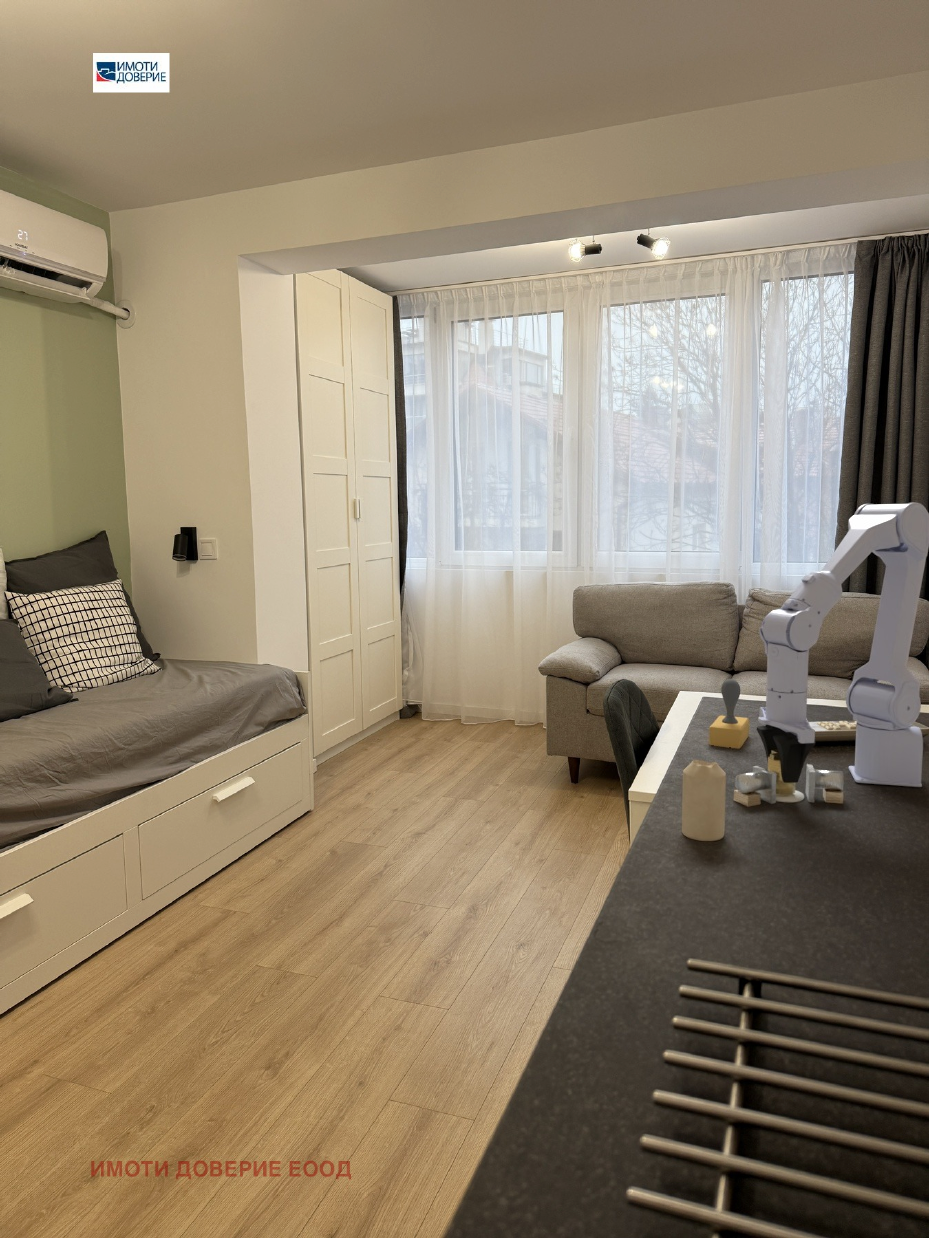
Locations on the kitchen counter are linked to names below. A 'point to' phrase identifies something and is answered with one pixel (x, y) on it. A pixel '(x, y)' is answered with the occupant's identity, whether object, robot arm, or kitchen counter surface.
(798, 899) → the kitchen counter surface
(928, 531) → the robot arm
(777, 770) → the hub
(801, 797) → the seat
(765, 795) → the shaft
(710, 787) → the candle
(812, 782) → the shaft
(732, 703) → the rubber stamp
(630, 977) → the kitchen counter surface
